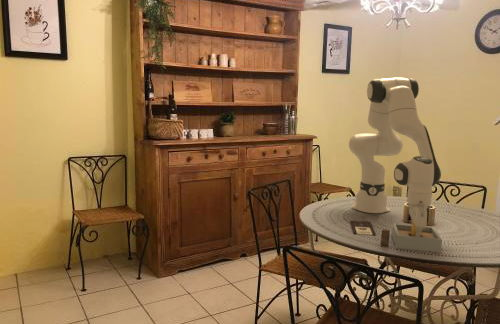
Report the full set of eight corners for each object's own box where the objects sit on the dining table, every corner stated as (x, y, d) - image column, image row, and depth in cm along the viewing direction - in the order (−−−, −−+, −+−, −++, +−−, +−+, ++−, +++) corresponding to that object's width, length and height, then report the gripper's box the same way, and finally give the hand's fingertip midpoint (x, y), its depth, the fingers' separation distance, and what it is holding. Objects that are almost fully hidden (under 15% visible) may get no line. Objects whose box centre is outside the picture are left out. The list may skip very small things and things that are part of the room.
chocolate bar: (370, 221, 191) (375, 234, 173) (369, 223, 191) (375, 236, 174) (349, 220, 192) (353, 233, 175) (349, 222, 192) (353, 235, 175)
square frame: (391, 234, 175) (392, 223, 174) (432, 238, 172) (433, 227, 171) (395, 248, 160) (396, 235, 159) (440, 252, 156) (442, 239, 155)
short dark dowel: (380, 243, 164) (381, 228, 163) (388, 244, 164) (389, 229, 163) (380, 246, 162) (382, 231, 161) (388, 246, 161) (390, 231, 160)
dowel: (409, 241, 168) (411, 217, 166) (418, 242, 167) (421, 218, 166) (410, 244, 164) (412, 219, 163) (420, 245, 164) (422, 220, 162)
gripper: (432, 206, 152) (429, 242, 154) (423, 193, 172) (420, 225, 174) (414, 204, 154) (411, 240, 156) (407, 192, 173) (404, 224, 175)
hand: (415, 232), depth 165 cm, fingers open, 8 cm apart
